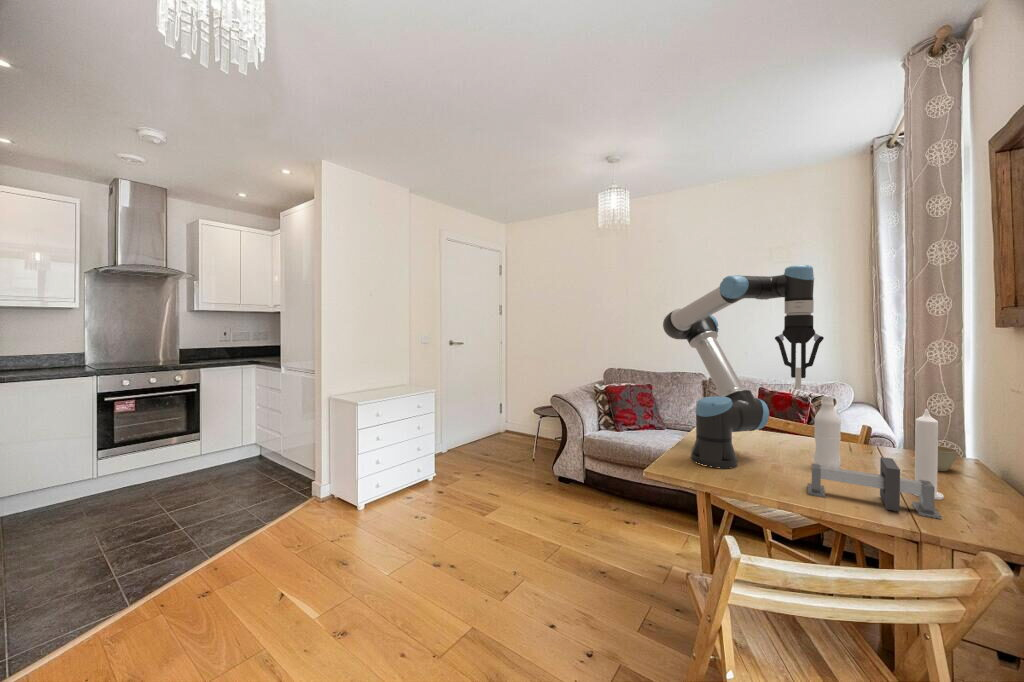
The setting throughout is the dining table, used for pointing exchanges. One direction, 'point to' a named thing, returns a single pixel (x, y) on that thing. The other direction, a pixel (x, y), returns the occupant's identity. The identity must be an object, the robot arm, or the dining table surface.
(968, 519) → the dining table surface
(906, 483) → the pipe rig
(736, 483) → the dining table surface
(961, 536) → the dining table surface
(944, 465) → the flower pot
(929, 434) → the candle
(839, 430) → the water bottle
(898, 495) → the collar
